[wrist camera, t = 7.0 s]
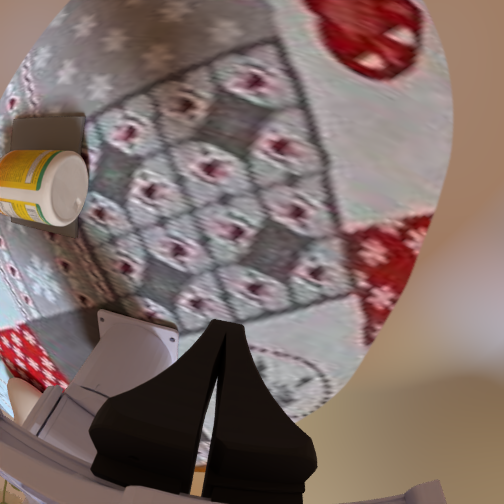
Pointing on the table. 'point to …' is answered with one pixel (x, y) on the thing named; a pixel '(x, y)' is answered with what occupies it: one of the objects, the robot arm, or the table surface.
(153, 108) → the table surface
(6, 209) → the supplement bottle
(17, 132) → the mat
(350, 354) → the table surface
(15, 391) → the flower in vase
